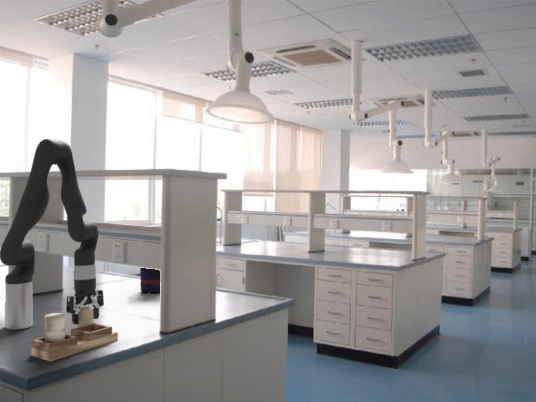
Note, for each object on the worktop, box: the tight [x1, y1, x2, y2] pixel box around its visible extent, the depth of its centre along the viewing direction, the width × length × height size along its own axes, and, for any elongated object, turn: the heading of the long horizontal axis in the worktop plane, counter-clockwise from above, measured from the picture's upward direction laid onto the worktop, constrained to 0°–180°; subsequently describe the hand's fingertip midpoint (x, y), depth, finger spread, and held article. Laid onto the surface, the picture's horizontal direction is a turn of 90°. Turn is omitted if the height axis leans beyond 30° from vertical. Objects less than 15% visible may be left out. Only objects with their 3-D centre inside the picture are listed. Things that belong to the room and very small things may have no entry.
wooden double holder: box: [31, 312, 119, 362], centre depth 164 cm, size 10×26×12 cm, turn 148°
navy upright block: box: [139, 268, 161, 294], centre depth 254 cm, size 14×12×30 cm
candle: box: [76, 305, 94, 328], centre depth 179 cm, size 6×6×10 cm
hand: (85, 321), depth 179 cm, fingers open, 8 cm apart
